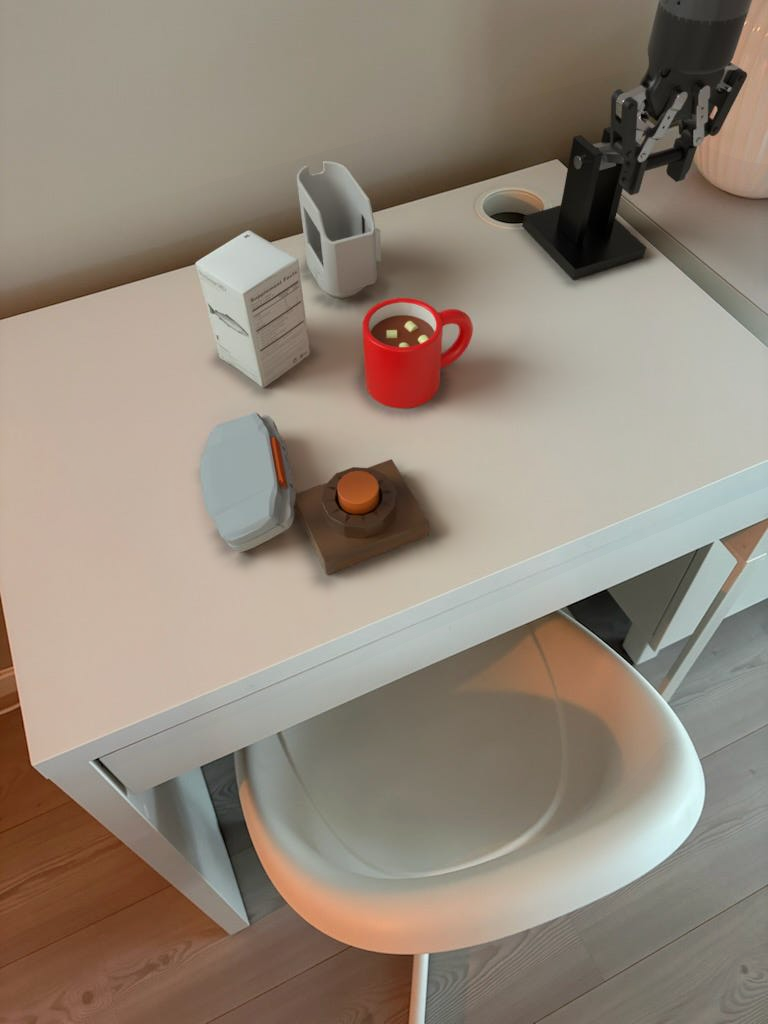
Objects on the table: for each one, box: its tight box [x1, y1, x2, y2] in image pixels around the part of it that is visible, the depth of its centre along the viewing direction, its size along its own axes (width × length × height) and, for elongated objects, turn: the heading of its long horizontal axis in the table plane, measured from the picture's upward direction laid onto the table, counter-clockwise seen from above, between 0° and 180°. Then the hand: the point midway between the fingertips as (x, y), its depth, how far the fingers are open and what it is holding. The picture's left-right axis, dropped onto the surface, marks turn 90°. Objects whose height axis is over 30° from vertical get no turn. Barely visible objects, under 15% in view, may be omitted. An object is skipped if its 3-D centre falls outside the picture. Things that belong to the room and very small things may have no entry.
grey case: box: [199, 411, 296, 553], centre depth 70 cm, size 14×3×8 cm
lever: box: [592, 141, 684, 172], centre depth 80 cm, size 12×5×2 cm, turn 24°
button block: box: [294, 458, 430, 576], centre depth 68 cm, size 8×10×4 cm
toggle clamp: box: [521, 126, 647, 281], centre depth 88 cm, size 12×10×13 cm
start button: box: [337, 471, 379, 515], centre depth 66 cm, size 4×4×2 cm
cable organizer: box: [296, 160, 382, 299], centre depth 85 cm, size 7×12×12 cm, turn 22°
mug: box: [362, 297, 474, 409], centre depth 77 cm, size 8×12×8 cm, turn 117°
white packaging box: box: [194, 229, 311, 389], centre depth 77 cm, size 7×7×13 cm
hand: (652, 183), depth 78 cm, fingers closed on lever, 5 cm apart
